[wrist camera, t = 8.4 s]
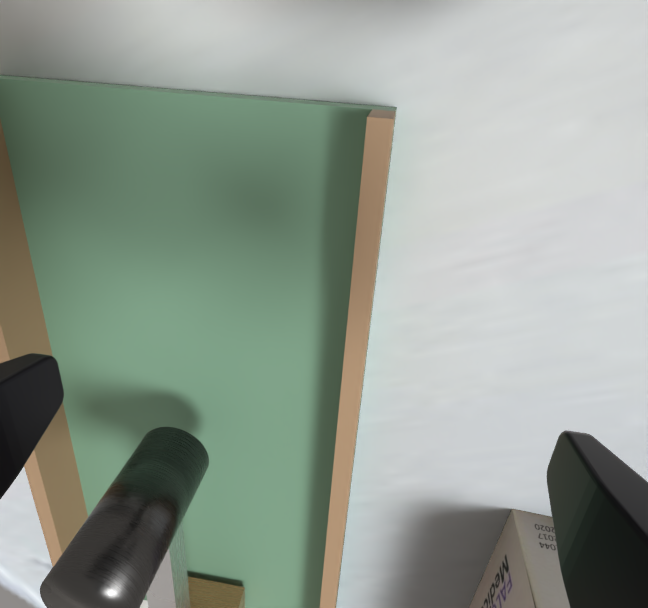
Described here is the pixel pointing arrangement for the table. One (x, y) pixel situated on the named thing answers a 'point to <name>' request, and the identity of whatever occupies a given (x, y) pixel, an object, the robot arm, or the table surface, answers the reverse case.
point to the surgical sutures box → (523, 567)
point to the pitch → (198, 308)
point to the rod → (140, 536)
